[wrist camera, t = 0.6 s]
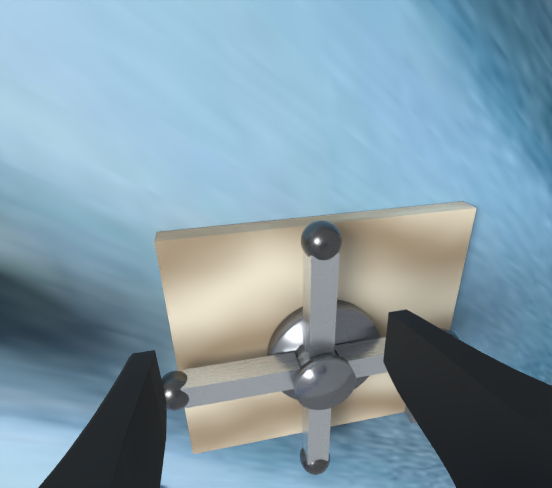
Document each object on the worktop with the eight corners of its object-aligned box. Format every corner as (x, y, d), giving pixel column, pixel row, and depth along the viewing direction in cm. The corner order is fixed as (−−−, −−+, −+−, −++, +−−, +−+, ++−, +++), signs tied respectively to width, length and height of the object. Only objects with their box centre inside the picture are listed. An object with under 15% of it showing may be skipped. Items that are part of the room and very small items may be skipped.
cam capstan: (419, 417, 29) (447, 461, 26) (180, 466, 26) (178, 523, 23) (464, 192, 21) (512, 215, 18) (129, 224, 18) (116, 258, 15)
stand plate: (424, 393, 30) (433, 406, 29) (193, 438, 27) (193, 454, 26) (463, 201, 23) (476, 208, 22) (156, 232, 20) (154, 241, 19)
